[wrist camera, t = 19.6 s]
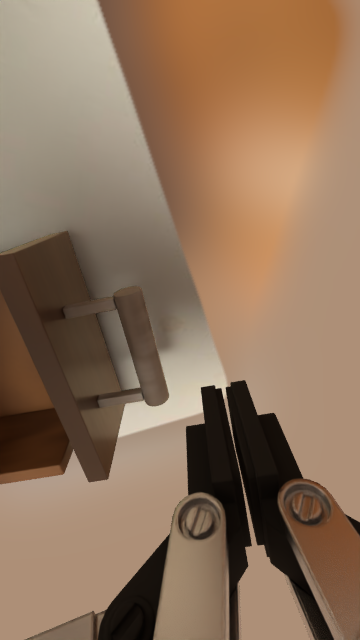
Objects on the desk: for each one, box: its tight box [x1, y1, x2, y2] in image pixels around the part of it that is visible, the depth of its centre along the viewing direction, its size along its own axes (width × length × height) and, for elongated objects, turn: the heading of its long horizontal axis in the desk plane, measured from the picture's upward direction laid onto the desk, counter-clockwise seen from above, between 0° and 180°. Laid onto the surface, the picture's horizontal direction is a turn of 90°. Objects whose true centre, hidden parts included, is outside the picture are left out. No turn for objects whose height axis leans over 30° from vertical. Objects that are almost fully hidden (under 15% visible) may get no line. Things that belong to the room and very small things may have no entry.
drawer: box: [0, 231, 169, 484], centre depth 18 cm, size 17×13×7 cm
